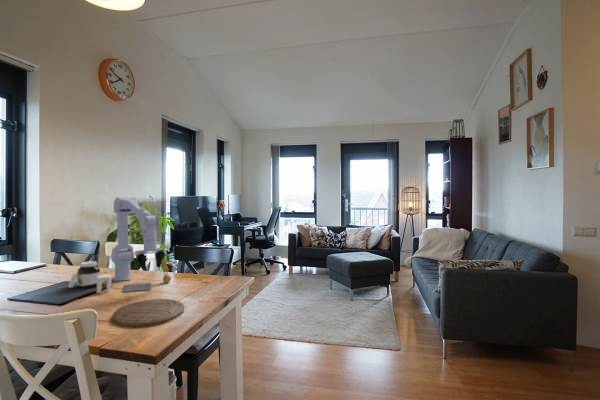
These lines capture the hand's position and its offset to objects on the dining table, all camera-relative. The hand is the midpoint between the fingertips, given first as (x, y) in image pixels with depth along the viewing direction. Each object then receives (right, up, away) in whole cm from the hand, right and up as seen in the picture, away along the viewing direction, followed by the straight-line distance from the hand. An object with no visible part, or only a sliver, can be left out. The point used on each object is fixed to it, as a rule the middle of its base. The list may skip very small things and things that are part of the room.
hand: (151, 268), depth 151 cm
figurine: (+1, -10, +14) cm, 17 cm away
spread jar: (-35, -10, +3) cm, 36 cm away
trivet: (+13, -12, -29) cm, 34 cm away
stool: (-21, -10, -3) cm, 23 cm away
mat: (-8, -10, +3) cm, 13 cm away
